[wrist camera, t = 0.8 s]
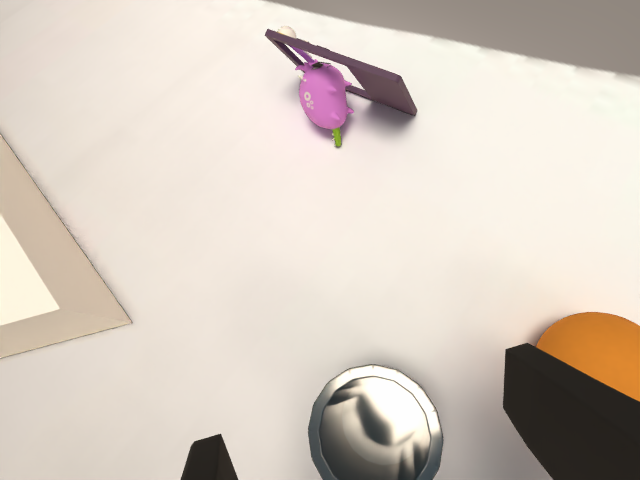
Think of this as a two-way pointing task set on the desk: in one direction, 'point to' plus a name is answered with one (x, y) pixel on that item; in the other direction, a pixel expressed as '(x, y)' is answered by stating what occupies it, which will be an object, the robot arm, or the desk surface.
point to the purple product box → (338, 82)
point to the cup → (375, 427)
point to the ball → (598, 348)
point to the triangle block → (44, 271)
